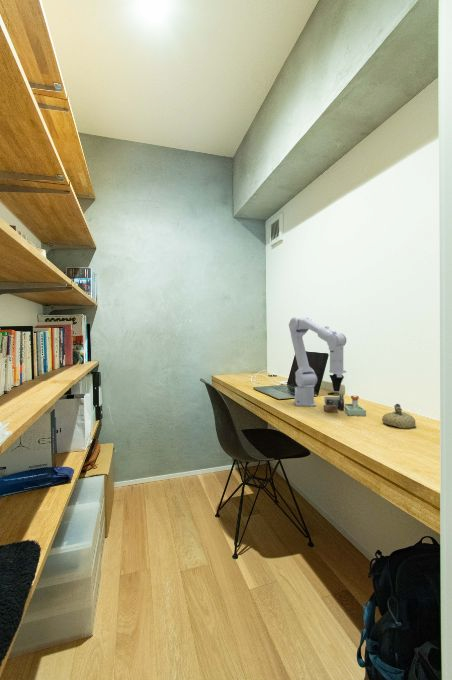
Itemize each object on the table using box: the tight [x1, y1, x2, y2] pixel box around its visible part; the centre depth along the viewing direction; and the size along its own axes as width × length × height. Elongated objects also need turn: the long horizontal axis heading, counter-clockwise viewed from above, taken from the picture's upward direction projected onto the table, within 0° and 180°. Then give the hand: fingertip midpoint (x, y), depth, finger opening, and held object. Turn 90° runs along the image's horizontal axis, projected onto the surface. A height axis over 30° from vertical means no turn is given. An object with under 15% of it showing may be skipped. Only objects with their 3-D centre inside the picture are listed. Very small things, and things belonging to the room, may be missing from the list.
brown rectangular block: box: [323, 404, 339, 414], centre depth 140 cm, size 5×4×3 cm
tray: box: [344, 405, 367, 417], centre depth 137 cm, size 7×7×2 cm
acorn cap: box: [381, 403, 416, 429], centre depth 120 cm, size 10×11×10 cm
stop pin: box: [350, 395, 360, 410], centre depth 137 cm, size 3×3×7 cm
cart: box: [323, 391, 345, 411], centre depth 147 cm, size 8×10×7 cm
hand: (336, 391), depth 137 cm, fingers closed
